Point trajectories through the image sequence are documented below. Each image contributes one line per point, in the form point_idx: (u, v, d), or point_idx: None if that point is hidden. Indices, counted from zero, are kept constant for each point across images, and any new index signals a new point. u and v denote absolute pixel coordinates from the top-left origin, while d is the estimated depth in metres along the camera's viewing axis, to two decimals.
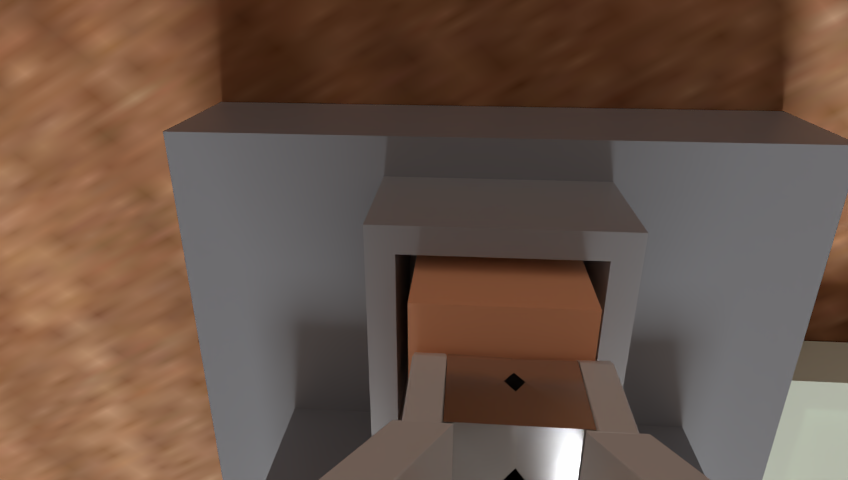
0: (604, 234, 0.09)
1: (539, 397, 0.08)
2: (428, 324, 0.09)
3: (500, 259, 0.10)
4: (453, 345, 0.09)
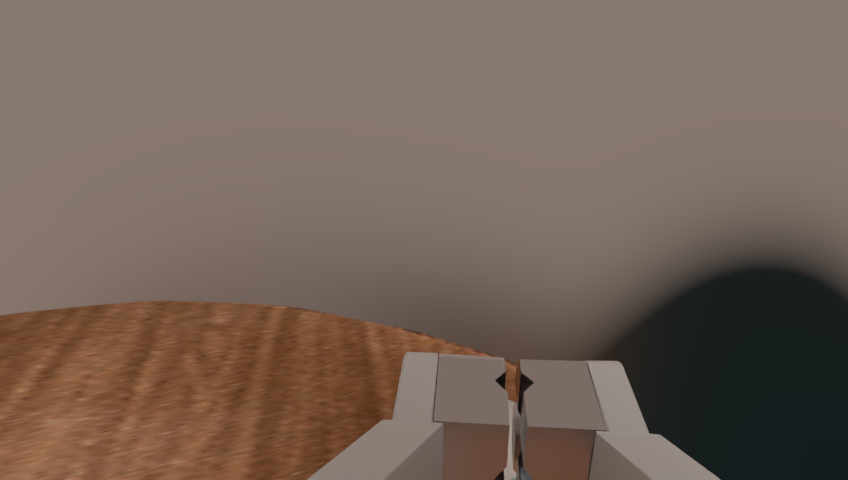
0: None
1: (548, 397, 0.08)
2: None
3: None
4: None
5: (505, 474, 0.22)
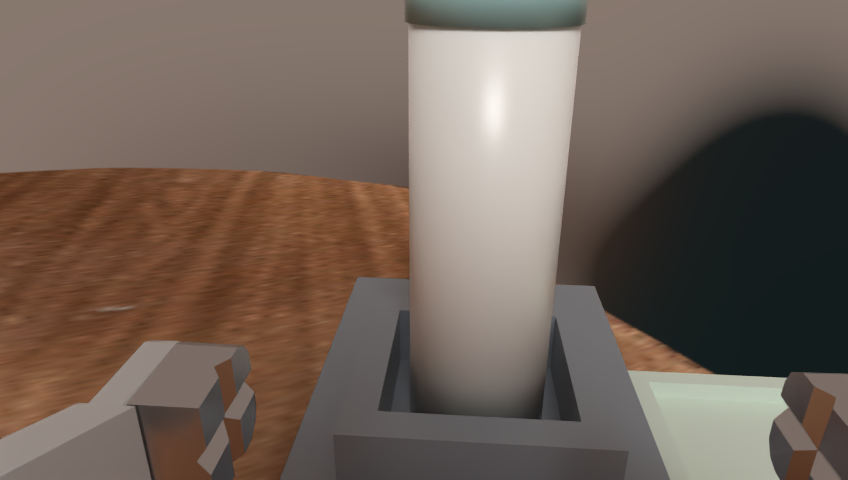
0: None
1: None
2: None
3: None
4: None
5: None
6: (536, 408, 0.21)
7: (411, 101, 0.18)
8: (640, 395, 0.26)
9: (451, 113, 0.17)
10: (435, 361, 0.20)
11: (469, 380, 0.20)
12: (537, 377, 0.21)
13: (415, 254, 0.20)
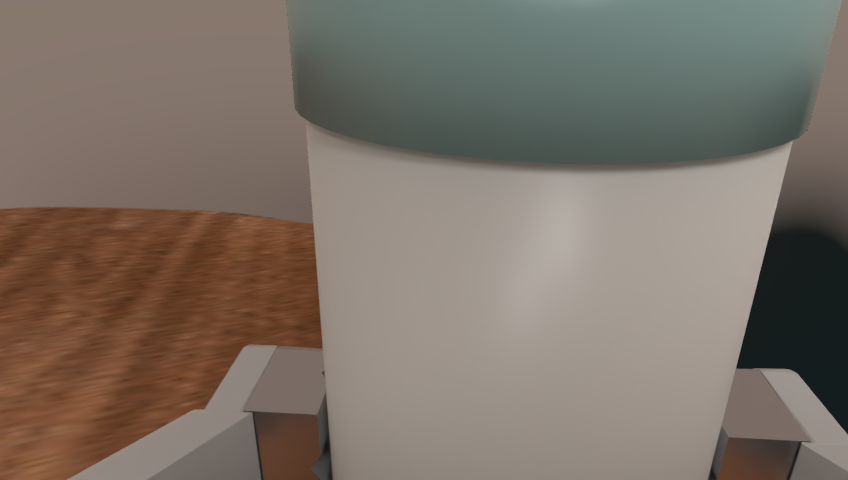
0: None
1: (737, 407, 0.08)
2: None
3: None
4: None
5: None
6: None
7: (320, 302, 0.07)
8: None
9: (418, 385, 0.06)
10: None
11: None
12: None
13: None
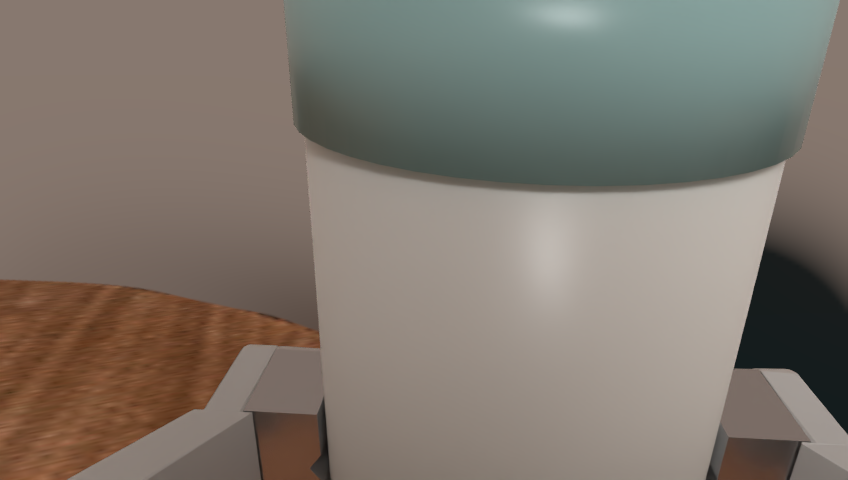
0: None
1: (737, 407, 0.08)
2: None
3: None
4: None
5: None
6: None
7: (318, 314, 0.07)
8: None
9: (414, 400, 0.06)
10: None
11: None
12: None
13: None
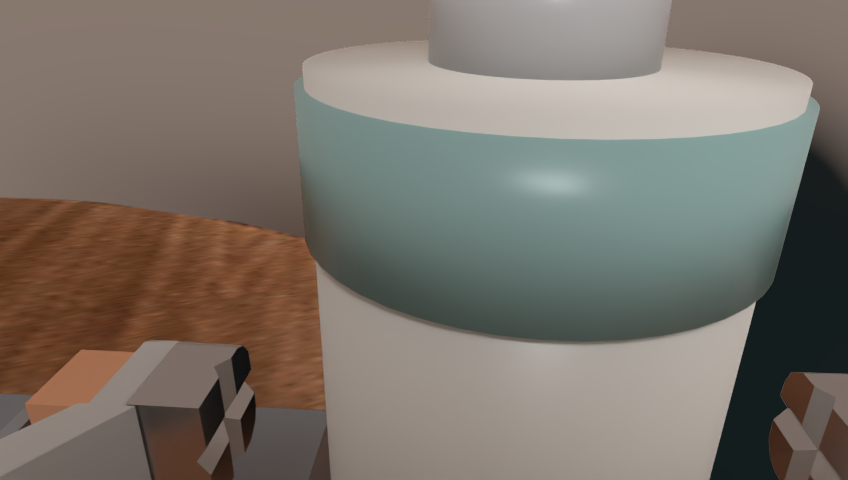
0: None
1: None
2: (83, 356, 0.20)
3: None
4: (88, 362, 0.20)
5: (714, 104, 0.04)
6: None
7: (326, 405, 0.07)
8: None
9: None
10: None
11: None
12: None
13: None
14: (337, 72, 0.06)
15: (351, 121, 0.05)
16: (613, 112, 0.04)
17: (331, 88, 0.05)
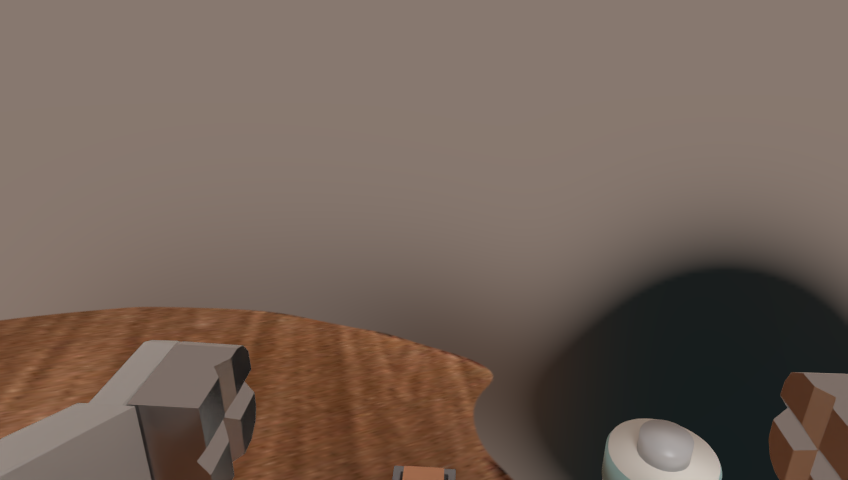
0: (446, 469, 0.43)
1: None
2: (408, 469, 0.42)
3: None
4: (412, 473, 0.42)
5: None
6: None
7: None
8: None
9: None
10: None
11: None
12: None
13: None
14: (625, 465, 0.28)
15: None
16: None
17: (629, 476, 0.28)
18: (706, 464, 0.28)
